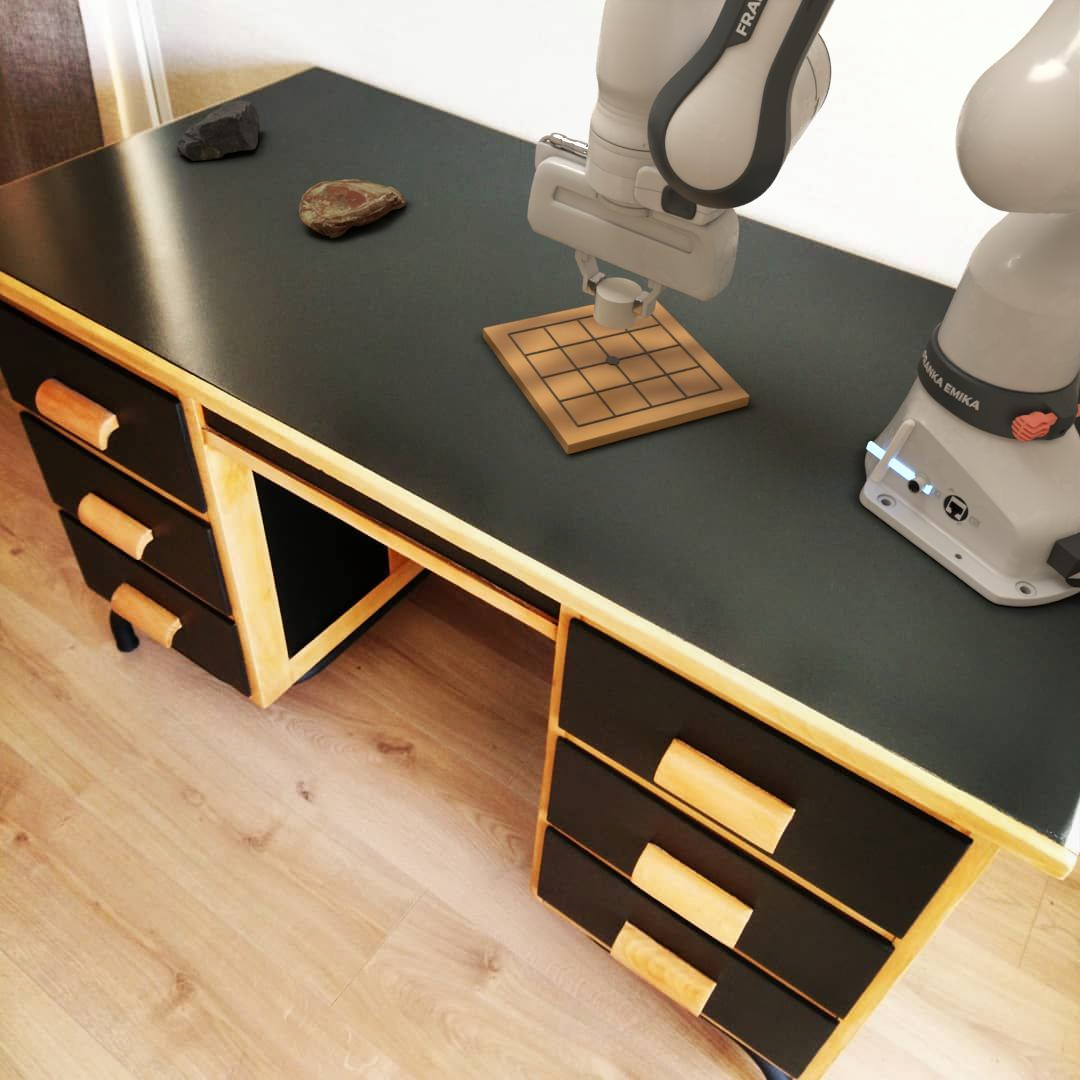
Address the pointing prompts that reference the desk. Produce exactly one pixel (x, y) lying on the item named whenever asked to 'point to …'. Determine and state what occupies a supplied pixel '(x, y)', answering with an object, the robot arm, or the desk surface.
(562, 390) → the grid board
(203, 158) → the rock
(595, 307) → the game stone
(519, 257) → the desk surface
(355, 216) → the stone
